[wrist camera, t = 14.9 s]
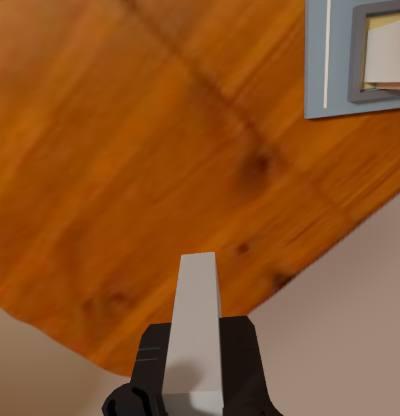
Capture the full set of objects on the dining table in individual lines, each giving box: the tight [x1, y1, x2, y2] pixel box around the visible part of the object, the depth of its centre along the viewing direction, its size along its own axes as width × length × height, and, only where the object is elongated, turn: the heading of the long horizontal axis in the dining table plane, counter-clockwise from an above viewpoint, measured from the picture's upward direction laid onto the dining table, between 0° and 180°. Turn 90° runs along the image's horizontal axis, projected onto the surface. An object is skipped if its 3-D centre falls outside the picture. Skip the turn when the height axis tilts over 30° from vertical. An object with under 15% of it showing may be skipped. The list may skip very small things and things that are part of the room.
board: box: [304, 0, 400, 119], centre depth 32 cm, size 14×13×2 cm
